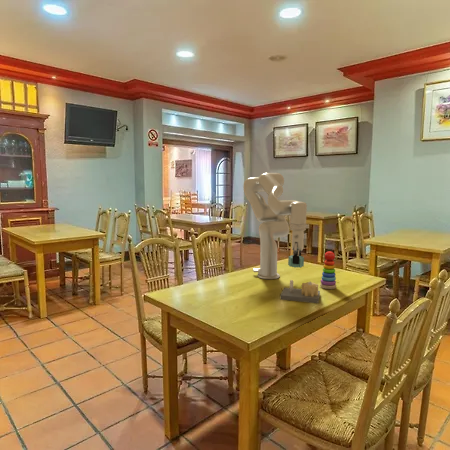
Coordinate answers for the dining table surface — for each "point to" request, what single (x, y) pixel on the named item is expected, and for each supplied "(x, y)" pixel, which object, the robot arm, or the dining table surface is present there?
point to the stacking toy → (328, 272)
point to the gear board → (301, 293)
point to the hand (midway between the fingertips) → (296, 261)
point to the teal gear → (301, 264)
